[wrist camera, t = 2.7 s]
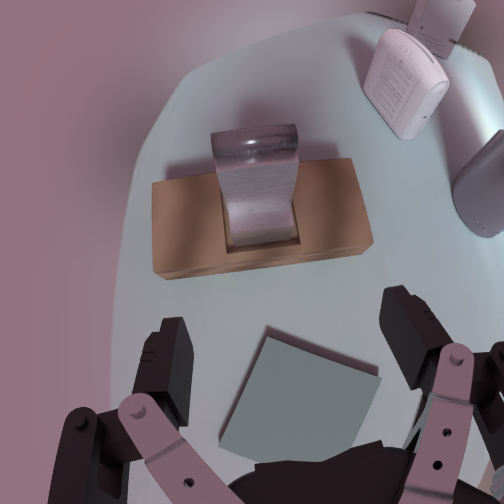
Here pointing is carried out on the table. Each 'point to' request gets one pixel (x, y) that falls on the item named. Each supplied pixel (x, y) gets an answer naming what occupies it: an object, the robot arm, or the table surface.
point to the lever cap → (258, 181)
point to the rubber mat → (298, 407)
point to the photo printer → (404, 83)
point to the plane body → (265, 255)
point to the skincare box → (439, 23)
